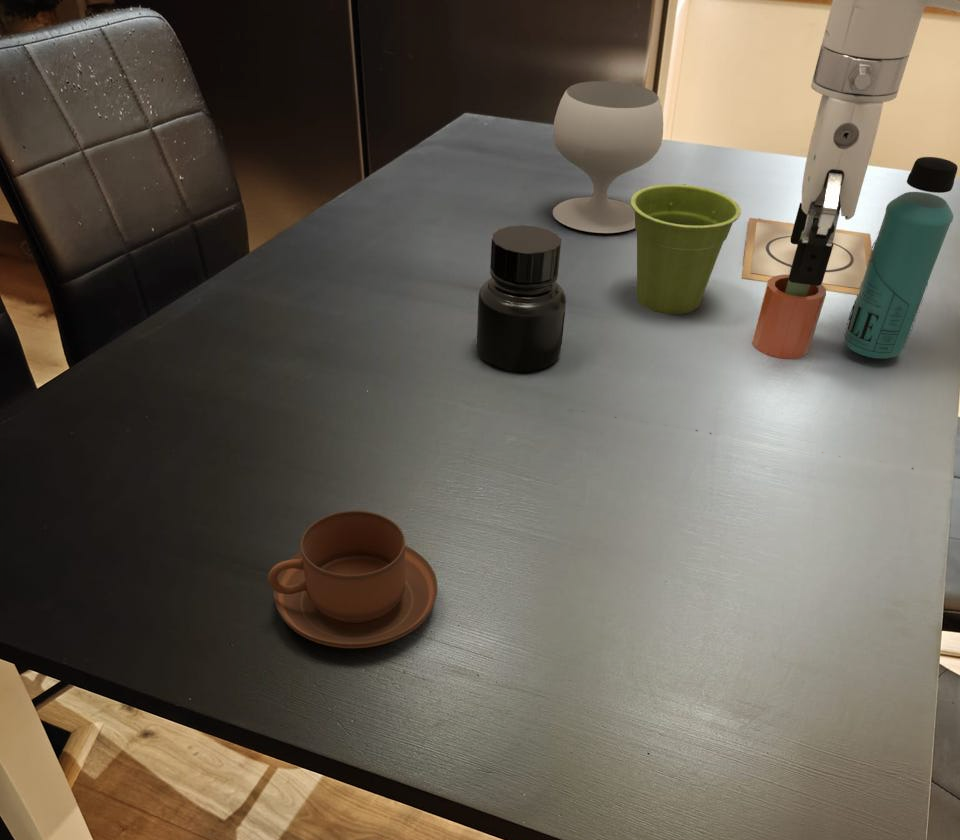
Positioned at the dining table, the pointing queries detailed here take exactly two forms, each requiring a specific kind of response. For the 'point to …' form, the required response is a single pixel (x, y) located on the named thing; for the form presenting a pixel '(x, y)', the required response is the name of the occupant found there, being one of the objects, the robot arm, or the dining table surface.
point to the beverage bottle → (902, 262)
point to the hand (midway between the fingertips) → (804, 263)
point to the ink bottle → (522, 300)
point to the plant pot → (678, 243)
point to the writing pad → (775, 251)
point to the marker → (797, 286)
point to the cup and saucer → (354, 582)
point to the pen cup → (787, 320)
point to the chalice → (605, 147)
